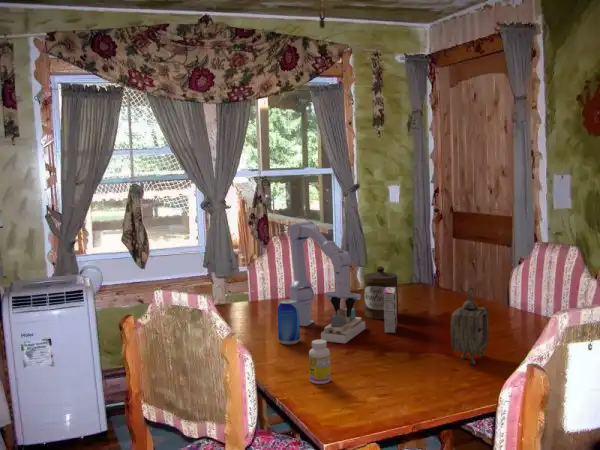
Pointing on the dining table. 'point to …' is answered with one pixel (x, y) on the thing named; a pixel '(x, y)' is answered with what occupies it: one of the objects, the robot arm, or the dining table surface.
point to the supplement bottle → (319, 362)
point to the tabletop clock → (470, 328)
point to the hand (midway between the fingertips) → (343, 316)
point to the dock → (343, 337)
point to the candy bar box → (390, 310)
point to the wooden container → (378, 292)
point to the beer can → (288, 321)
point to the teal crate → (352, 314)
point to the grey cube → (337, 320)
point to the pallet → (348, 323)
